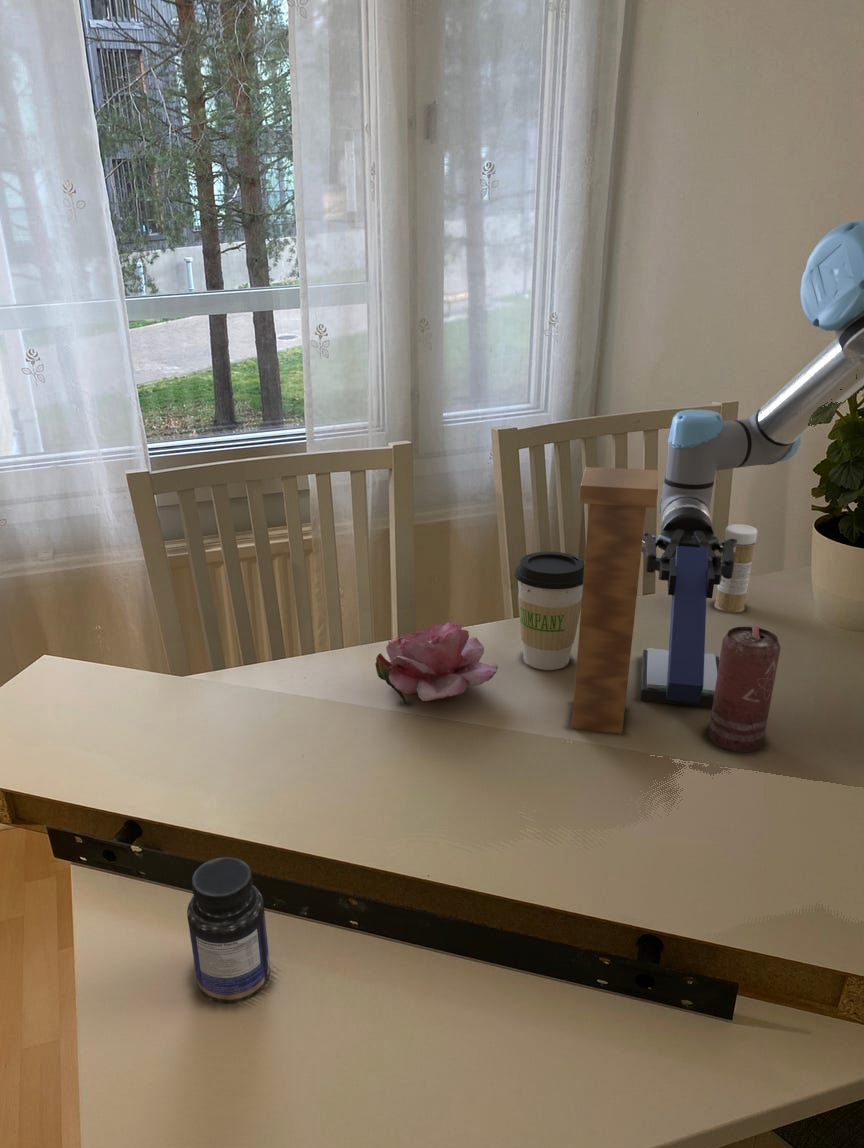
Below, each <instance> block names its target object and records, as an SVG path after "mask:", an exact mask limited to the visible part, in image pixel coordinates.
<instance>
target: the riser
mask: <svg viewBox="0 0 864 1148" xmlns="http://www.w3.org/2000/svg"><path fill="white" fill-rule="evenodd" d="M658 494H659V470H658V469H637V468H617V467H597V466H596V467H593V466H585V468H584V472H583V475H582V480H581V483H580V489H579V500H578V501H579V504H582V505H588V514H587V525H586V539H585V552H584V577H583V590H582V602H581V610H580V615H579V628H578V641H577V642H578V643H577V655H576V665H575V666H576V668H575V679H574V680H575V681H574V693H573V705H572V706H573V707H572V710H573V711H572V718H571V719H572V720H571V729H577V730H585V731H593V732H601V733H602V732H603V733H612V734H621V735H622V734H623V729H624V720H625V710H626V702H627V701H626V700H627V692H628V683H629V672H630V663H631V654H632V646H633V645H632V644H633V636H634V628H635V627H634V626H635V616H636V606H637V599H638V588H639V578H640V571H641V570H640V569H641V561H642V560H641V559H642V542H643V533H645V532H644V530H645V522H646V513H647V508H654V509H656V508H657V505H658V496H659V495H658Z"/></svg>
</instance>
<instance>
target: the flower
mask: <svg viewBox="0 0 864 1148" xmlns="http://www.w3.org/2000/svg"><path fill="white" fill-rule="evenodd" d="M463 626H464V623H457V624H455V625H454V623H453V622H451V621H450V622H446V623H445V624H439V623H435V624H433V625H432V626H430V627H429V629H422V628H420V629H419V630H417V632H416V633H414V634H411V633H406V634H404V635H403V636H400V637H396V638H395V639H391V640H388V644H387V645H386V646H385V648H386V653H387V656H388V658H389V661H388V660H387V659H386V657H384V655H383V654H382V653H381V652H380V653H379V654H378V655H376V657H375V671H376V673H377V677H378V678H379V679H380V680H383V681H385V683H386V684H387V685H388V686H390V687H391V688H392V689H393V690H394V691H395V692H396V693H397V694H398V695H399V697H400V698H401V700H402V701H403V702H404V704H405V705H408V702H407V699H406V697H405V695H404V694H406V695H410V694H417V695H418V698H419V699H420V700H421V701H422V702H430V701H436V700H439V699H444V698H447V697H453V696H460V695H462V694H464V693H465V692H466V691H467V689H468V687H469V686H472V687H475V686H479V685H482V684H484V683H487V682H489V681H490V680H491V679H492V678H493V677H494V676H495V675H496V674H497V673H498V668H499V667H498V663H484V662H481V661H480V660H481V659H482V657H483V656H484V654H485V653H484V652H485V647H484V645H483V644H482V643H481V642H480V641H479V639H478V638H477V637H475V636H472V637H470V634H469V630H466V629H463Z"/></svg>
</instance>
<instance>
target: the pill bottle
mask: <svg viewBox="0 0 864 1148" xmlns="http://www.w3.org/2000/svg"><path fill="white" fill-rule="evenodd" d="M191 877H192V878H191V888H192V895H193V896H191V898H190V901H189V902H188V906H187V910H186V913H187V914H186V916H187V923H188V931H189V937H190V942H191V950H192V957H193V964H194V971H195V977H196V981H197V985H198V988H199V991H200V993H201V994H202V995H203V996H204V997H205V998H207V999H208V1000H209V1001H212V1002H214V1003H218V1004H224V1005H228V1004H237V1003H241V1002H244V1001H247V1000H250V999H252V998H253V997H255V996H256V995H258V994H259V993H260V992H261V991H262V990H263V989H264V988H265V986H266V984H267V983H268V981H269V980H270V975H271V963H270V953H269V952H270V951H269V943H268V942H269V941H268V933H267V924H266V923H267V922H266V914H265V901H264V897H263V895H262V893H261V892H260V890H259V889H258V888H257V887H256V886H255V885H253V884H254V880H253V875H252V870H251V868H250V866H249V865H248V864H247V863H246V862H245V861H244V860H242V859H240V858H236V857H231V856H229V857H228V856H227V857H226V856H223V857H217V858H213V859H210V860H208V861H206V862H204V863H203V864H201V865H200V866H199V867H197V869H195V871H194V873H193V875H192V876H191Z"/></svg>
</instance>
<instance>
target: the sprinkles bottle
mask: <svg viewBox="0 0 864 1148" xmlns="http://www.w3.org/2000/svg"><path fill="white" fill-rule="evenodd" d="M723 537H724V538H723V539H724V541H727V540H728V539H736V540H737V545H736V551H735V557H734V559H735V562H734V568H733V575H732V578H731V579H726V578H723V576H721V583H720V584H719V585H717V592H716V598H715V602H714V607H715V609H717V610H719V611H721V612H724V613H741V612H743V611H745V602H746V596H747V593H748V587H749V581H750V576H751V571H752V570H751V569H752V563H753V554H754V548H755V544H756V542H757V538H758V529H757V528H756V527H754V526H751V525H748V524H739V523H738V524H729V525H727V526H726V527H725V530H724V536H723Z"/></svg>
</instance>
